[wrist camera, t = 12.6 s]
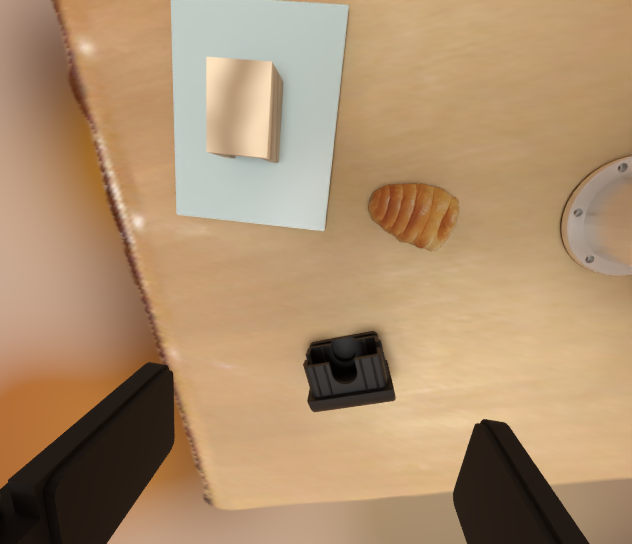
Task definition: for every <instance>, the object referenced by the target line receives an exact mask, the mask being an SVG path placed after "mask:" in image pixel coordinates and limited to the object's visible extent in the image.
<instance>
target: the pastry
mask: <svg viewBox="0 0 632 544" xmlns="http://www.w3.org/2000/svg"><path fill="white" fill-rule="evenodd" d="M368 208H369V212H370V214H371V217H372V220H373V221H375V222H376V223H377V224H379V225H380V226H381V227H382V228H383V229H384V230H385V231H387V232H388V233H390V234H392V235H394V236H395V237H396V238H397V239H398V240H399V241H400V242H407V243H410V244H413V245H416V246H417V247H418V248H425V249H428V250H429V251H434V250H436V249H438V248H439V247H441V245H442V244H443V243H444V242H445V241H446V240H447V239H448V237H449V235H450V233H451V232H452V230H453V228H454V226H455V224H456V219H457V216H458V213H459V203H458V199H457V198H455V197H453V196H451V195H449V193H448V192H446V191H445V190H443V189H441V188H437V187H432V186H428V185H425V184H393V185H386V186H384V187H382V188H380V189H378V190H376V191H375V192H374V193H373V195H372V197H371V199H370V204H369V207H368Z"/></svg>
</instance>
